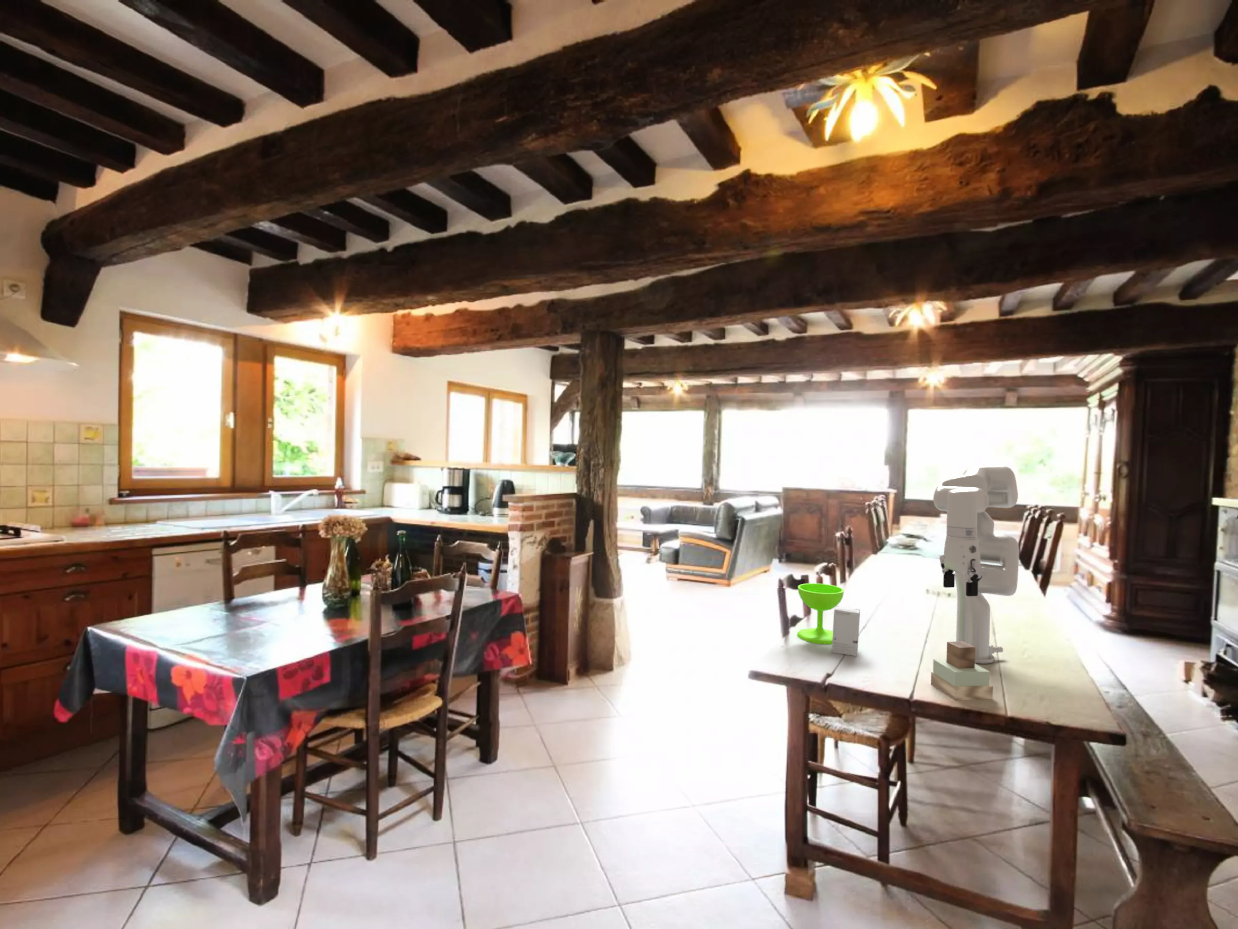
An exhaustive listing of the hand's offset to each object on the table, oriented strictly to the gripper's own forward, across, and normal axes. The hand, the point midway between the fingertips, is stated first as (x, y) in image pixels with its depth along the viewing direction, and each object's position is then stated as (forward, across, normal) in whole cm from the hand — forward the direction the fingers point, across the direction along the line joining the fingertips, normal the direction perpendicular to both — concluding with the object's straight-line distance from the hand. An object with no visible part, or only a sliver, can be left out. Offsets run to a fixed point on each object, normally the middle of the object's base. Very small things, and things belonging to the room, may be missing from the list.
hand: (959, 591), depth 172 cm
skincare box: (+29, +31, +18) cm, 46 cm away
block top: (+25, -3, +1) cm, 25 cm away
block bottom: (+29, -3, +1) cm, 29 cm away
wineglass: (+29, +47, +20) cm, 59 cm away
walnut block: (+21, -3, +1) cm, 21 cm away
